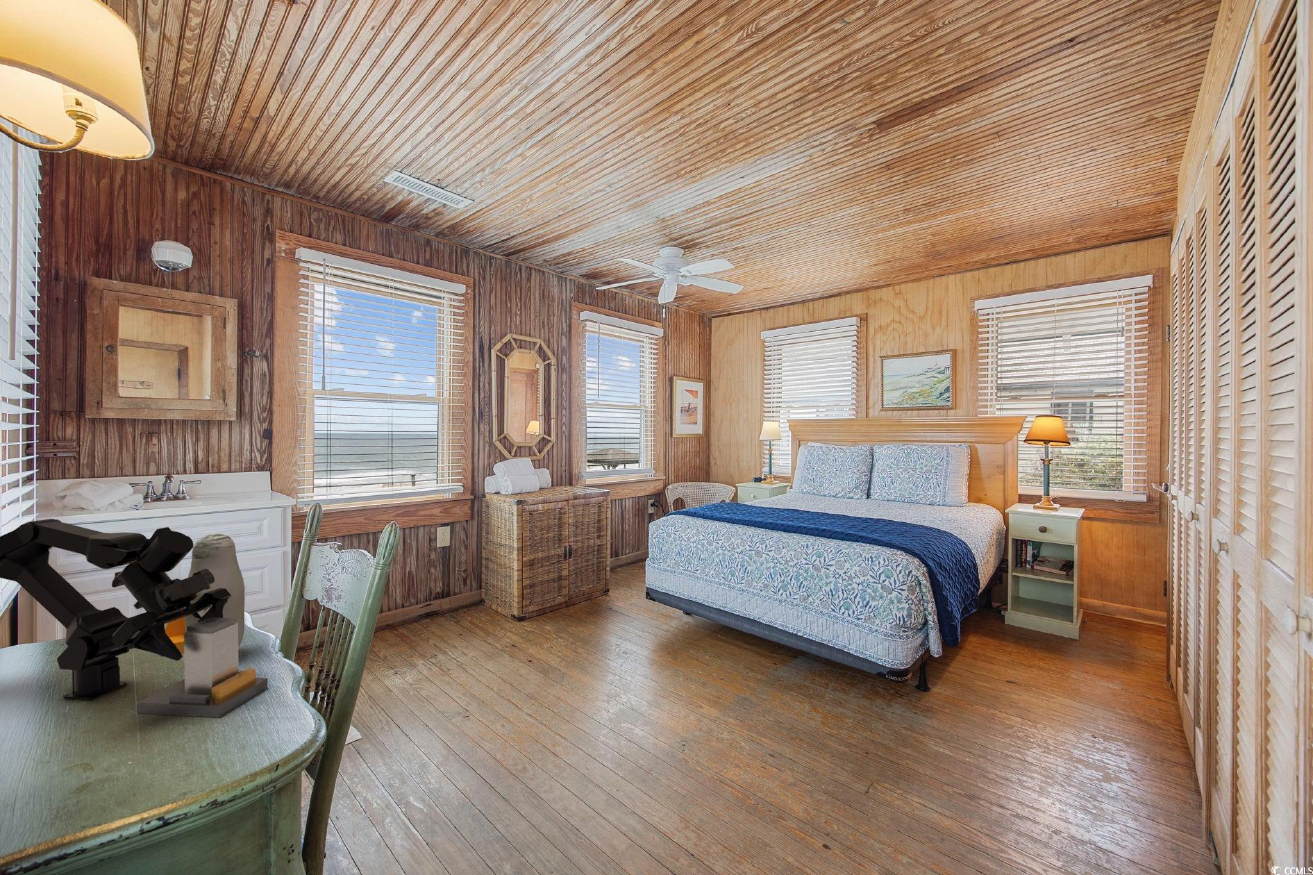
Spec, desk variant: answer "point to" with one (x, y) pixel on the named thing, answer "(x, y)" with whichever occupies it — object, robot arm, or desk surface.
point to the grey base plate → (204, 697)
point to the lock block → (210, 654)
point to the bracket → (176, 632)
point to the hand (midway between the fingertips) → (204, 648)
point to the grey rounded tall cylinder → (220, 576)
